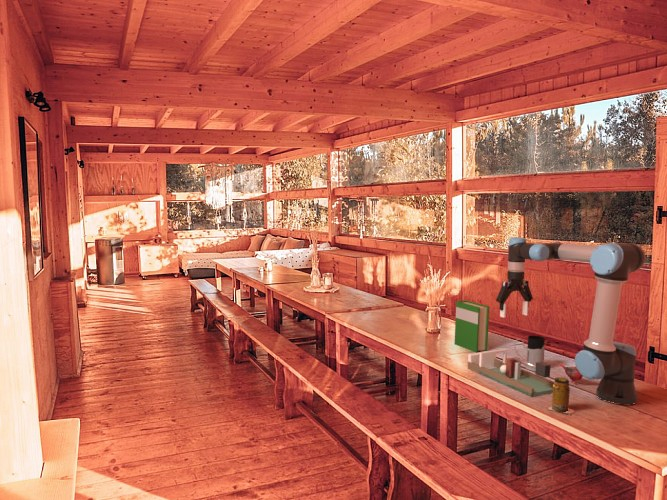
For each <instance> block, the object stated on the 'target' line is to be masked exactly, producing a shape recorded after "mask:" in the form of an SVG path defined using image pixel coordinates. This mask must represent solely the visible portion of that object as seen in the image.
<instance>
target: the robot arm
mask: <svg viewBox="0 0 667 500" xmlns="http://www.w3.org/2000/svg"><path fill="white" fill-rule="evenodd" d="M507 248H508V253H507V254H508V255H507V258H508V259H507V273H506V274H507V276H506V277H507V279H508V280H507V281H502V283H501V287H500V290H499V292H498V295H497V296H496V299H495V301H496V302H497V303H499V307H498V309H499V317H500V318H505V319H506V315H507V314H506V313H507V311H506V310H507V304H506V301H507V300H508V298H509V297H510V295H511V294H512V293H513V292H516V291H518V293H519V294H520V296H521V297H522V299H523V301H522V314H521V315H523V316H528V315H529V313H528V312H529V309H530V302H532V301H533V300H534V297H533V294H532V290H531V287H530V284H529V283H530V282H529V280H525V274H526V273H525V270H526V260H529V261H535V262H544V261H547V260H556V261H557V260H559V261H566V262H567V261H569V262H579V263H588V264H590V267H591V269H592V271H594V275H593V276H594V278H595V279H596V280H597V282H596V289H595V296H594V303H593V307H592V315H591V320H590V321H591V322H590V328H589V335H588V339H586V340H584V341H583V346H582V350H580V351H578V352H577V353H576V355H575V356H574V364H575V367H576V368H577V370H579V373H580V374H581V375H582V376H583V377H582V378H585V379H588V380H589V381H590V380H592V381H595V380H596V381H598V380H600V381H599V384H598V385H597V388H596V393H595V396H596V395H597V396H598V397H599V398H601V399H603V400H606V401H610V402H614V403H620V404H633V403H636V402H637V403H638V399H639V396H638V393H637V389H636V386H635V371H636V364H637V363H636V360H637V348H636V347H635V346H633V345H631V344H627V343H623V342H619V341H614V337H615V331H616V325H617V319H618V313H619V308H620V307H619V306H620V300H621V294H622V289H623V284H625V283H627V282H628V279H629V274H630V273H635V272H637V271H639V270H640V269H641V268H642V267H643V266H644V264H645V263H646V254H645V251H644V250H643V248H642V247H640V245H637V244H636V243H631V242H621V243H619V242H618V243H617V242H615V243H614V242H612V243H611V242H610V243H604V244H600V245H598V244H597V245H595V244H581V243H580V244H579V243H577V244H576V243H563V242H544V243H543V242H542V243H541V242H538V243H535V242H534V243H532V242H527V239H526V238H525V237H517V236H516V237H514V236H513V237H510V238H509V241H508V247H507ZM597 396H596V397H597ZM598 397H597V398H598ZM599 398H598V399H599ZM601 399H600V400H601ZM603 400H602V401H603ZM606 401H605V402H606ZM614 403H613V404H614ZM637 403H636V404H637ZM633 405H634V404H633Z"/></svg>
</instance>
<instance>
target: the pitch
mask: <svg viewBox="0 0 667 500" xmlns="http://www.w3.org/2000/svg"><path fill="white" fill-rule="evenodd" d="M500 353H502V360H500V359H498V358H497V354H500ZM507 358H508V349H506V348H503V349H497V350H495V349H494V350H489V351H488V350H487V351H482V352H481V351H480V352H477V353H476V352H474V353H468V354H467V369H468V370H470V371H472V372H475V373H476V374H479V375H480V376H481V375H482V376H484V377H486V378H488V379H491V380H492V381H495V382H497V383H499V384H500V385H501V384H502V385H503V386H506V387H508V388H509V389H512V390H515V391H517V392H519V393H522V394H524V395H526V396H528V397H531V398H533V397H538V396H543V395H544V396H545V395H550V394H553V385H554V380H553V381H552V380H550V379H548V378H544V377H541V376H539V375H536V374H535V373H533V372H530V371H528V370H524V369H523V368H521V366H522V365H521V363H519V362H516V363H515V376H514V377H507V376H506V374H503V373H501V371H500V367H501V366H502V365H506V359H507ZM490 367H491V368H490ZM493 367H494V368H493Z"/></svg>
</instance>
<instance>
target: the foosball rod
mask: <svg viewBox="0 0 667 500" xmlns="http://www.w3.org/2000/svg"><path fill="white" fill-rule="evenodd" d="M524 360H525V359H524ZM524 360H523V359H522V358H521V357H517V356H516V357H507V359H506V376H507V377H514V376H515V363H516V362H519V363H521V364H522V365H524V366H526V365H527V366H529V367H532V368H535V369H536V370H535V371H534V372H535V373H534V374H535V375H538V376H540V377H543V378H545V379H547V378H550V377H551V364H549V363H546V362H544V363H543V362H536V365H535V364H532V363H529V362H527V361H526V360H525V361H524Z"/></svg>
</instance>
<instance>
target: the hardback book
mask: <svg viewBox="0 0 667 500" xmlns="http://www.w3.org/2000/svg"><path fill="white" fill-rule="evenodd" d="M489 321H490V306H489V305H485V304H482V303H477V302H475V301H470V300H459V301H458V300H457V301H456V304H455V326H454V344H453V345H456V346H459V347H461V348H463V349H467V350H468V351H471V352H474V353H479V351H483V352H487V351H488V342H489V341H488V340H489Z"/></svg>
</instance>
